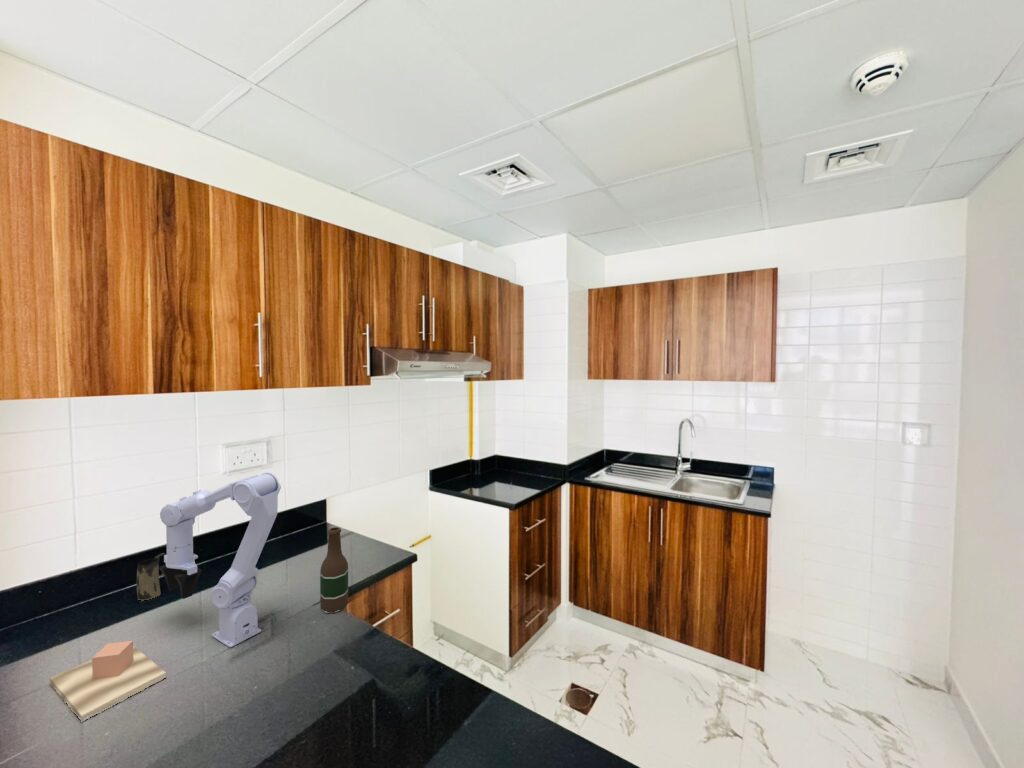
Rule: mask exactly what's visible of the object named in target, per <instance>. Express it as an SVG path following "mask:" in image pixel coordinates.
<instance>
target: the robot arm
mask: <svg viewBox="0 0 1024 768" xmlns="http://www.w3.org/2000/svg"><path fill="white" fill-rule="evenodd" d="M281 489H282V486H281V484H280V482H279V479H278V478H277V476H276V475H275V474H274V473H271V472H264V473H261V474H259V475H257V474H256V475H253V476H249V477H245V478H242V479H239V480H235V481H232V482H229V483H228V484H224V485H223V486H221V487H219V488H217V489H215V490H213V491H209V490H201V489H198V490H196V491H194V492H192V494H191V495H190V496H184V497H183V496H182V497H181V498H179V501H176V502H173V503H168V504H166V505H164V506H163V507H162V508H161V510H160V512H159V513H160V514H159V517H160V521H161V522H162V523H163V524H164V525H165V527H166V529H165V530H166V534H165V535H166V537H165V538H166V554H167V555H165V554H164V555H163V562H164V565H161V566H159V571H160V572H161V574H163V576H164V579H165V581H166V584H167V588H168V591H174V590H177V589H179V590H180V591H179V592H180V596H181V598H182V599H183V600H185V599H187V598H189V597H193V593H194V591H195V586H196V583H197V580H198V579H199V576H200V575H201V574H202V569H201V568H199V567H198V565H197V564H196V562H195V560H196V559H198V558H199V556H198V555H197V554H196V553H194V531H193V528H194V524H195V521H196V517H198V516H200V515H202V514H205V513H207V512H210V511H212V510H213V509H214V508H215V506H216V504H217V503H218V502H221V501H224V500H226V499H229V498H230V500H231V501H235V502H236V503H237V505H238V506H239V507H240V508H241V509H242V511H243V512H244V513H245V514H246V515H247V517H248V516H249V517H251V519H250V520H249V523H248V526H247V527H246V530H245V532H244V535H243V537H242V539H241V542H240V543H239V544H240V545H239V547H238V549H237V552H236V554H235V556H234V559H233V561H232V564H231V566H230V568H229V569H228V570H227V571H226V572H225V573H224V575H222V577H221V578H220V579H219V581H218V583H217V584H216V585H215V586H214V587H212V589H211V591H210V600H211V603H212V604H213V606H215V607H216V608H218V630H216V631H215V632H213V633H211V637H213V638H214V639H216V640H217V641H219V642H221V643H222V644H224V645H225V646H227V647H228V648H233V647H234V646H236V645H238V644H240V643H242V642H244V641H245V640H247V639H250V638H252V637H254V636H255V635H257V634H259V633H261V632H262V629H261V628H259V627H258V622H259V621H258V610H257V608H256V607H255V606H254V605H253V604H252V598H251V597H252V596H253V590H255V589H256V588H257V585H258V576H259V573H260V570H259V569H258V568H257V567H256V565H257V563H258V561H259V558H260V556H261V553H262V551H263V549H264V546H265V544H266V542H267V539H268V537H269V535H270V533H271V530H272V528H273V525H274V523H275V521H276V518H277V516H278V505H279V504H278V503H279V502H278V501H279V497H278V496H279V494H280V491H281ZM165 563H166V564H165Z"/></svg>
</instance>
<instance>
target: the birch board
mask: <svg viewBox="0 0 1024 768" xmlns="http://www.w3.org/2000/svg"><path fill="white" fill-rule="evenodd" d="M166 675H167V672H166V671H165V670H164V669H162V668H161V667H160V666H159V665H157V664H156V663H155V662H154V661H153V660H151V659H150V658H149V657H148V656H147V655H145V654H144V653H143V652H142V651H140V650H139V649H138V648H137V647H136V646H135V645H133V662H132V663H131V664H130V665H129V666H128V667H127V668H126V669H125V670H124V671H123V672H122V673H121V674H120V676H116V677H108V678H100V679H93V674H92V659H90V660H87V661H86V662H83V663H81V664H78V665H76V666H74V667H72V668H70V669H67V670H65V671H63V672H61V673H57V674H56V675H53V676H52V677H49V685H50V686H51V688H52V689H53V690H54V689H55V690H56V691H55V690H54V691H55V692H56V693H57V695H58V694H59V695H60V696H61V697H62V698H61V697H60V696H59V695H58V696H59V697H60V698H61V700H62V701H63V700H64V701H65V702H66V703H67V704H68V705H69V707H70V708H71V709H72V710H73V711H74V712H75V713H76V714H77V715H78V716H79V717H80V718H81V720H82V719H84V718H86V717H87V716H89V715H92V714H94V713H96V712H99V711H101V710H103V709H105V708H107V707H109V706H111V705H113V704H116V703H117V702H119V701H121V700H123V699H125V698H127V697H130V696H132V695H134V694H136V693H138V692H140V691H142V690H143V691H145V690H146V689H145V688H147V687H148V686H150V685H152V684H154V683H156V682H158V681H160V680H161V679H163V678H165V677H166ZM166 678H167V677H166ZM144 689H145V690H144ZM147 689H148V688H147ZM143 691H142V692H143ZM140 693H141V692H140ZM138 694H139V693H138ZM136 695H137V694H136ZM134 696H135V695H134ZM132 697H133V696H132ZM130 698H131V697H130ZM64 701H63V702H64ZM65 702H64V703H65ZM66 703H65V704H66ZM67 704H66V705H67ZM69 707H68V708H69ZM70 708H69V709H70ZM71 709H70V710H71ZM72 710H71V711H72Z"/></svg>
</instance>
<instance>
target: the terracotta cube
mask: <svg viewBox="0 0 1024 768" xmlns="http://www.w3.org/2000/svg"><path fill="white" fill-rule="evenodd" d="M133 646H134V640H126V641H119V642H110V643H109V642H108V643H107V644H106V645H105V646H103V648H101V649H100V650H99V651H98V652H97V653H96V654H95V655H93V657H91V660H92V674H93V679H100V678H108V677H116V676H120V674H121V673H122V672H123V671H124V670H125V669H126V668H127V667H128V666H129V665H130V664H131V663H132V662H133Z"/></svg>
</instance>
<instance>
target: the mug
mask: <svg viewBox="0 0 1024 768" xmlns="http://www.w3.org/2000/svg"><path fill="white" fill-rule="evenodd" d="M164 555H167V553H165V552H162V553H159V554H157V555H156V556H155V557H154V558H153V557H151V558H148V559H144V560H141V561H140V562H138V563H137V569H136V594H137V601H138V600H141V601H140V602H145V601H144V600H148V601H150V600H149V599H151V600H153V599H152V598H154V599H156V598H158V597H159V596H160V595H161V594H162V591H161V587H160V577H162V576H164V575H163V573H161V574H160V573H159V571H160V569H159V567H160V557H161V556H164ZM165 564H166V563H165V562H164V565H165ZM157 596H158V597H157ZM155 597H156V598H155Z"/></svg>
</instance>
